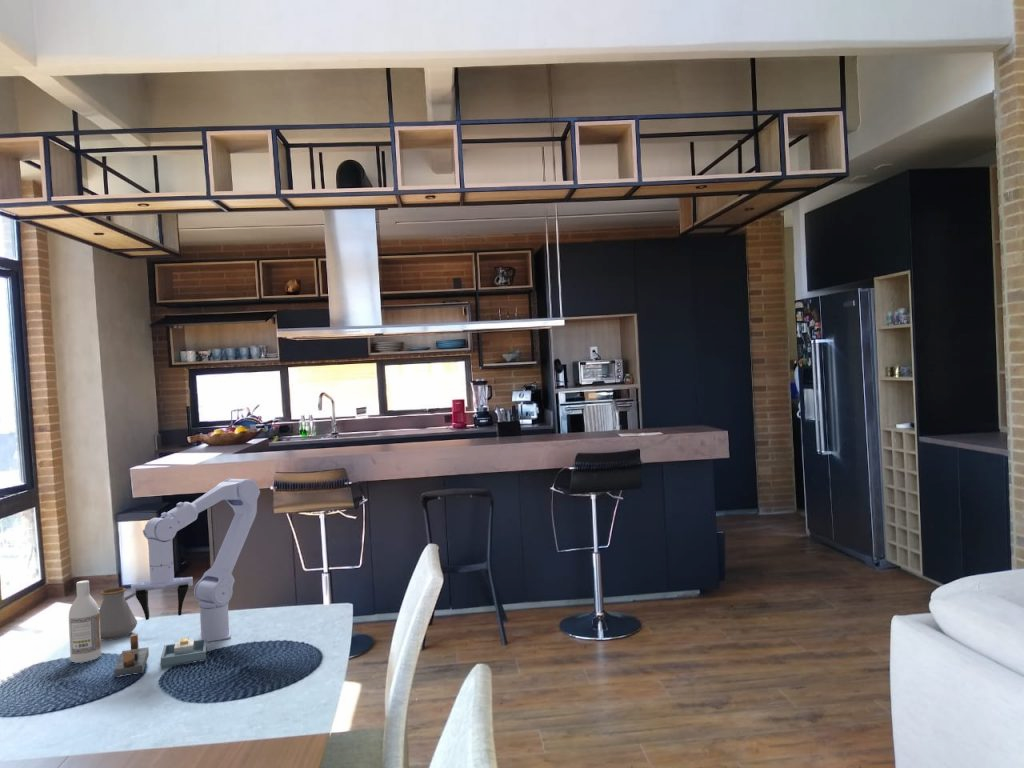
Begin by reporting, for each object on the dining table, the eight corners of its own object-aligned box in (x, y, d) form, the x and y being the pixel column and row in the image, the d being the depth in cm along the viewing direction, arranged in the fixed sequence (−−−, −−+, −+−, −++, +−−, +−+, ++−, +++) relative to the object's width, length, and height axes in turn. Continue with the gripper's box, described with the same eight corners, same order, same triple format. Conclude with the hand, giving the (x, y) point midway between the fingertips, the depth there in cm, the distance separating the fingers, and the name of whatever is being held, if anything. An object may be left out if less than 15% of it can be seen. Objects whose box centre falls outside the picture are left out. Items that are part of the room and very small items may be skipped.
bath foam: (104, 659, 197) (100, 581, 197) (73, 666, 192) (69, 586, 193) (98, 653, 202) (95, 577, 203) (68, 659, 198) (65, 582, 198)
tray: (164, 654, 198) (164, 645, 198) (207, 648, 201) (206, 639, 202) (161, 668, 187) (160, 658, 187) (205, 661, 191) (205, 651, 191)
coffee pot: (94, 645, 209) (92, 590, 210) (89, 635, 219) (87, 583, 219) (178, 628, 222) (175, 576, 222) (170, 620, 231) (167, 570, 231)
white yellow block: (176, 653, 197) (175, 638, 197) (194, 650, 198) (194, 636, 198) (174, 660, 191) (173, 645, 191) (193, 657, 192) (192, 642, 192)
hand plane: (122, 658, 196) (121, 635, 196) (148, 654, 198) (147, 631, 198) (114, 678, 182) (113, 652, 182) (142, 673, 184) (141, 648, 184)
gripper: (128, 570, 193) (131, 624, 193) (190, 563, 198) (193, 616, 198) (131, 565, 200) (134, 617, 200) (192, 558, 205) (194, 609, 205)
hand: (163, 616), depth 199 cm, fingers open, 7 cm apart
